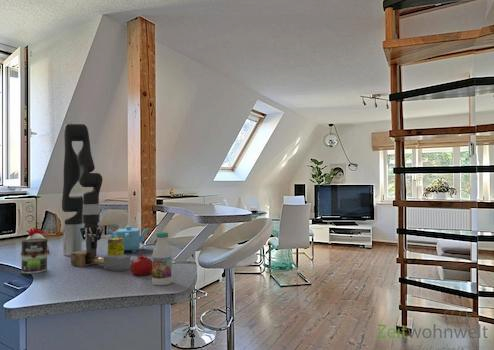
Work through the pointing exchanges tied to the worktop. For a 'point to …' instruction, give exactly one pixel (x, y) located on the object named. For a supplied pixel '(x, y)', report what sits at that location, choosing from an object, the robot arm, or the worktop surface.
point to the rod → (92, 253)
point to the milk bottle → (162, 261)
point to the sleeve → (117, 262)
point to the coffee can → (34, 256)
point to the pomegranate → (141, 265)
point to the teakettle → (130, 237)
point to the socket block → (79, 259)
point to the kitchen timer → (36, 236)
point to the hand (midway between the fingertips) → (91, 248)
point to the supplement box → (116, 246)
